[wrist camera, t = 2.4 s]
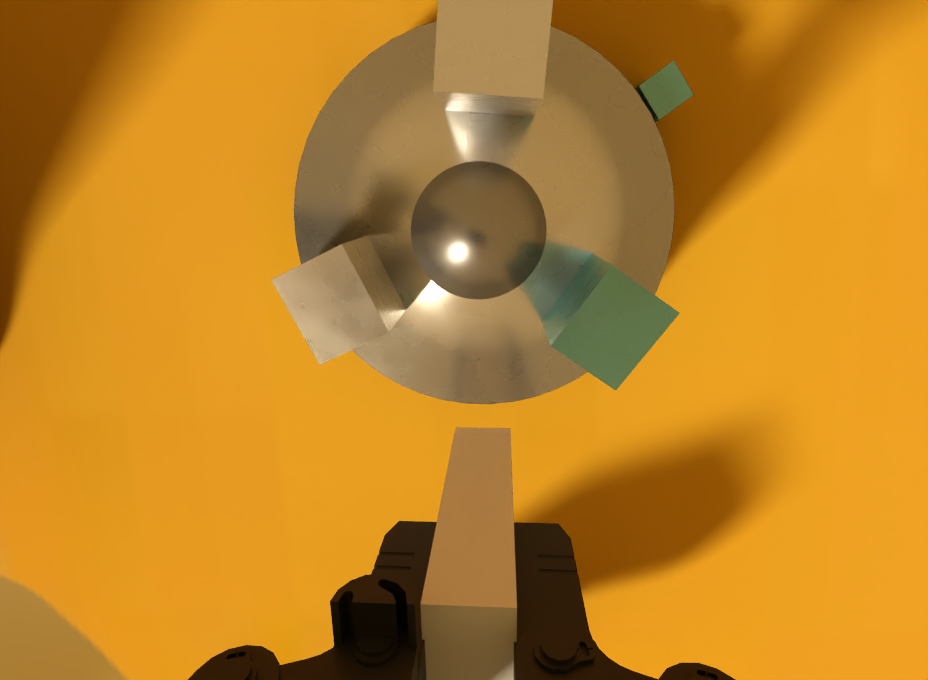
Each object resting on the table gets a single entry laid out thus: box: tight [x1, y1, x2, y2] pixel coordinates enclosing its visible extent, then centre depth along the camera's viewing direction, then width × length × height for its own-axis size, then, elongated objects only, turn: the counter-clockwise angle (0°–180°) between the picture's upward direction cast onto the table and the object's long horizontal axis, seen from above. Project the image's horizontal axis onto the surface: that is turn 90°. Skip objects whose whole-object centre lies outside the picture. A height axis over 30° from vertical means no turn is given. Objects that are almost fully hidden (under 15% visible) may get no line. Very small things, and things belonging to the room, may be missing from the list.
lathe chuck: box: [271, 0, 679, 404], centre depth 21 cm, size 16×16×6 cm
